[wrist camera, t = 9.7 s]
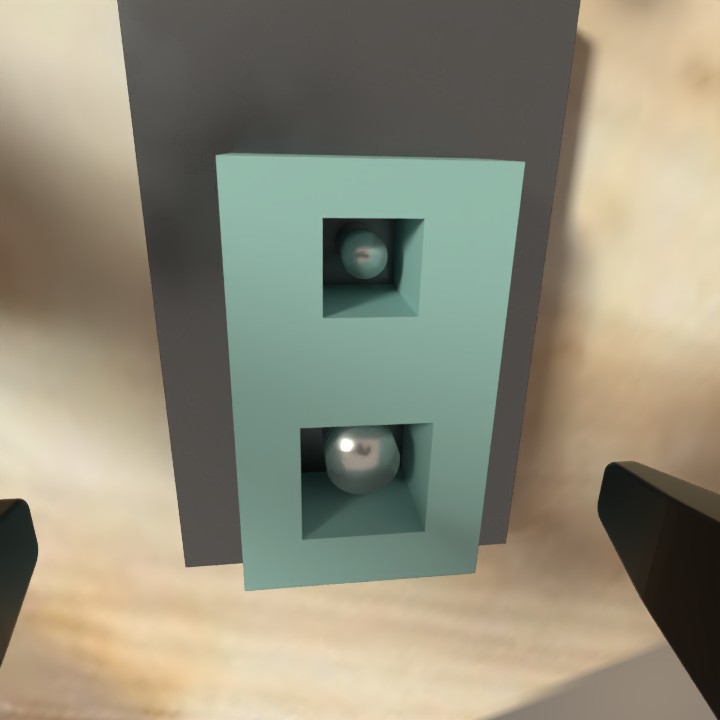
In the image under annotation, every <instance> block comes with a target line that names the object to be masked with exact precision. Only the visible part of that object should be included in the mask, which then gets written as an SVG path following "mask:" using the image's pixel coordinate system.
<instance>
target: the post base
mask: <svg viewBox="0 0 720 720" xmlns="http://www.w3.org/2000/svg"><path fill="white" fill-rule="evenodd" d="M117 2H118V11H119V19H120V27H121V35H122V44H123V52H124V60H125V69H126V77H127V85H128V94H129V102H130V110H131V118H132V127H133V135H134V143H135V152H136V160H137V168H138V176H139V185H140V193H141V201H142V210H143V218H144V226H145V234H146V243H147V251H148V259H149V268H150V276H151V284H152V293H153V301H154V309H155V317H156V326H157V334H158V342H159V351H160V359H161V367H162V375H163V384H164V392H165V400H166V409H167V417H168V425H169V434H170V442H171V450H172V458H173V467H174V475H175V483H176V492H177V500H178V508H179V516H180V525H181V533H182V541H183V550H184V558H185V566H186V567H197V566H210V565H223V564H237V563H243V556H242V541H241V526H240V511H239V496H238V481H237V466H236V451H235V436H234V421H233V406H232V392H231V377H230V362H229V347H228V332H227V317H226V302H225V287H224V272H223V257H222V243H221V228H220V213H219V198H218V183H217V168H216V155H221V154H227V153H253V154H299V155H345V156H391V157H437V158H478V159H493V160H507V161H521V162H525V168H524V176H523V184H522V192H521V201H520V209H519V217H518V225H517V233H516V242H515V250H514V258H513V266H512V274H511V283H510V291H509V299H508V307H507V315H506V323H505V332H504V340H503V348H502V356H501V364H500V373H499V381H498V389H497V397H496V405H495V414H494V422H493V430H492V438H491V446H490V454H489V463H488V471H487V479H486V487H485V495H484V504H483V512H482V520H481V528H480V536H479V545H489V544H502V543H506V537H507V530H508V523H509V515H510V508H511V501H512V494H513V486H514V479H515V472H516V465H517V457H518V450H519V443H520V436H521V428H522V421H523V414H524V407H525V399H526V392H527V385H528V378H529V370H530V363H531V356H532V349H533V341H534V334H535V327H536V320H537V312H538V305H539V298H540V291H541V283H542V276H543V269H544V262H545V254H546V247H547V240H548V233H549V225H550V218H551V211H552V204H553V196H554V189H555V182H556V175H557V167H558V160H559V153H560V146H561V138H562V131H563V124H564V116H565V109H566V102H567V95H568V87H569V80H570V73H571V66H572V58H573V51H574V44H575V37H576V29H577V22H578V15H579V8H580V0H117ZM322 222H323V285H361V284H393V271H394V248H395V226H396V218H322ZM403 432H404V424H390V425H366V426H341V427H317V428H300V449H301V473H307V472H326V471H327V473H328V476H329V478H330V479H331V481H332V482H333V483H334V484H335V485H336V486H337V487H338V488H340V489H341V490H343V491H345V492H348V493H352V494H368V493H372V492H375V491H378V490H380V489H382V488H383V487H385V486H386V485H387V484H389V483H390V482H391V481H392V479H393V478H394V477H395V475H396V473H397V471H398V468H401V467H402V449H403Z"/></svg>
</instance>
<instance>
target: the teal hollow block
mask: <svg viewBox="0 0 720 720" xmlns="http://www.w3.org/2000/svg"><path fill="white" fill-rule="evenodd" d="M216 168H217V183H218V198H219V213H220V228H221V243H222V257H223V272H224V287H225V302H226V317H227V332H228V347H229V362H230V377H231V392H232V406H233V421H234V436H235V451H236V466H237V481H238V496H239V511H240V526H241V541H242V556H243V570H244V585H245V591H252V590H265V589H277V588H290V587H303V586H316V585H329V584H342V583H355V582H368V581H381V580H393V579H406V578H419V577H432V576H445V575H458V574H471V573H475V569H476V561H477V553H478V545H479V536H480V528H481V520H482V512H483V504H484V495H485V487H486V479H487V471H488V463H489V454H490V446H491V438H492V430H493V422H494V414H495V405H496V397H497V389H498V381H499V373H500V364H501V356H502V348H503V340H504V332H505V323H506V315H507V307H508V299H509V291H510V283H511V274H512V266H513V258H514V250H515V242H516V233H517V225H518V217H519V209H520V201H521V192H522V184H523V176H524V168H525V162H521V161H507V160H493V159H478V158H437V157H391V156H345V155H299V154H253V153H227V154H221V155H216ZM322 218H396V226H395V248H394V271H393V284H361V285H323V222H322ZM390 424H404V432H403V449H402V467H401V468H398V471H397V473H396V475H395V477H394V478H393V479H392V481H391V482H390V483H389V484H387V485H386V486H385V487H383V488H382V489H380V490H378V491H375V492H372V493H368V494H352V493H348V492H345V491H343V490H341V489H340V488H338V487H337V486H336V485H335V484H334V483H333V482H332V481H331V479H330V478H329V476H328V473H327V471H326V472H307V473H301V449H300V428H317V427H341V426H366V425H390Z"/></svg>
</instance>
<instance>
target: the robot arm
mask: <svg viewBox="0 0 720 720" xmlns="http://www.w3.org/2000/svg"><path fill="white" fill-rule="evenodd" d="M598 514H599V518H600V520H601V522H602V524H603V526H604V528H605V530H606V532H607V534H608V536H609V538H610V540H611V542H612V544H613V546H614V548H615V550H616V552H617V554H618V556H619V558H620V559H621V561H622V563H623V565H624V567H625V569H626V571H627V573H628V575H629V577H630V579H631V581H632V583H633V585H634V587H635V589H636V591H637V592H638V594H639V596H640V598H641V600H642V601H643V603H644V605H645V606H646V608H647V610H648V611H649V613H650V615H651V616H652V618H653V619H654V621H655V622H656V624H657V626H658V627H659V629H660V630H661V632H662V633H663V635H664V637H665V638H666V640H667V641H668V643H669V644H670V646H671V647H672V649H673V651H674V652H675V654H676V655H677V657H678V659H679V660H680V661H681V663H682V665H683V666H684V668H685V669H686V671H687V672H688V674H689V676H690V677H691V679H692V680H693V682H694V684H695V685H696V687H697V688H698V690H699V691H700V693H701V694H702V696H703V697H704V699H705V701H706V702H707V704H708V705H709V707H710V709H711V710H712V712H713V713H714V715H715V716H716V718H717V720H720V495H719V494H717V493H714V492H712V491H709V490H707V489H704V488H701V487H699V486H696V485H694V484H691V483H689V482H686V481H684V480H681V479H678V478H676V477H673V476H671V475H668V474H666V473H663V472H661V471H658V470H655V469H653V468H650V467H648V466H645V465H643V464H640V463H638V462H634V461H623V462H612V463H610V464H608V465H607V467H606V468H605V471H604V476H603V480H602V485H601V490H600V495H599V499H598ZM37 557H38V543H37V539H36V534H35V530H34V526H33V522H32V517H31V513H30V509H29V506H28V504H27V502H26V501H24V500H23V499H20V498H17V499H1V500H0V667H1V665H2V662H3V660H4V657H5V654H6V651H7V649H8V646H9V643H10V640H11V637H12V634H13V631H14V628H15V625H16V622H17V619H18V616H19V613H20V610H21V607H22V604H23V601H24V598H25V595H26V592H27V589H28V586H29V583H30V580H31V577H32V574H33V571H34V568H35V565H36V562H37Z"/></svg>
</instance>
